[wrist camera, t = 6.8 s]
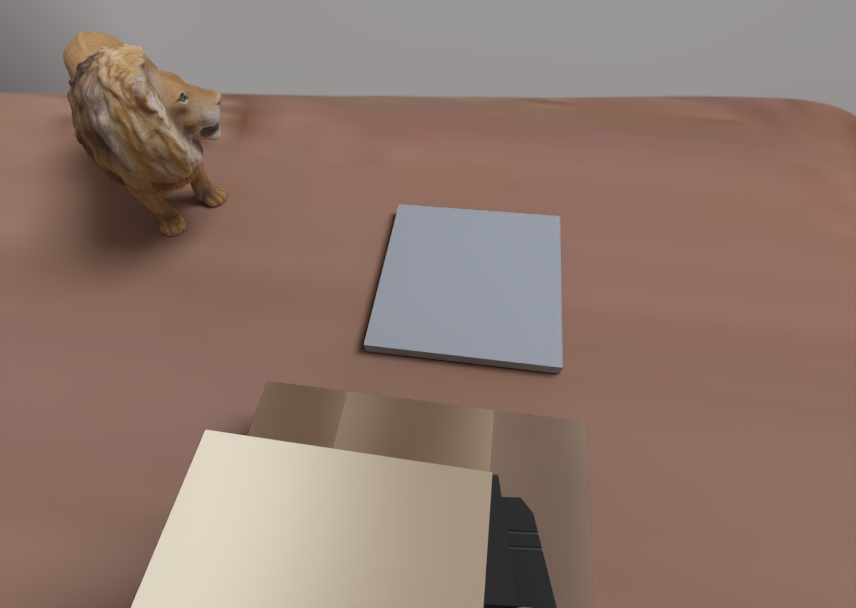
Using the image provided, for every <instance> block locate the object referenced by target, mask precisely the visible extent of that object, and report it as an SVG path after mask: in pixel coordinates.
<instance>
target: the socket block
mask: <svg viewBox="0 0 856 608" xmlns="http://www.w3.org/2000/svg"><path fill="white" fill-rule="evenodd" d="M247 436H252V437H258V438H265V439H272V440H278V441H285V442H292V443H299V444H305V445H312V446H319V447H326V448H332V449H339V450H346V451H352V452H359V453H366V454H373V455H379V456H386V457H393V458H399V459H406V460H413V461H420V462H426V463H433V464H440V465H446V466H453V467H460V468H467V469H473V470H480V471H487V472H493V473H492V474H498V476H499V482H500V489H501V495H502V497H521V498H522V500H523V501H524V502H525V503H526V505H527V506H528V507H529V508H530V510H531V511H532V512H533V514H534V518H535V522H536V526H537V530H538V535H539V538H540V542H541V546H542V551H543V554H544V558H545V562H546V566H547V570H548V574H549V578H550V582H551V586H552V590H553V595H554V599H555V603H556V607H557V608H594V591H593V569H592V547H591V525H590V502H589V480H588V458H587V435H586V422H581V421H573V420H566V419H558V418H550V417H542V416H535V415H527V414H519V413H511V412H503V411H496V410H488V409H480V408H472V407H465V406H457V405H449V404H441V403H434V402H426V401H418V400H410V399H402V398H395V397H387V396H379V395H371V394H364V393H356V392H348V391H340V390H332V389H325V388H317V387H309V386H301V385H294V384H286V383H278V382H270V381H267V382H266V385H265V388H264V391H263V393H262V396H261V399H260V402H259V404H258V407H257V410H256V413H255V415H254V418H253V421H252V424H251V426H250V429H249V432H248V435H247Z"/></svg>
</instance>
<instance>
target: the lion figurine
mask: <svg viewBox="0 0 856 608" xmlns="http://www.w3.org/2000/svg"><path fill="white" fill-rule="evenodd" d="M63 58H64V62H65V66H66V68H67V70H68V73H69V75H70V77H71V79H70V80H69V84H70V89H69V91H68V95H67V98H68V100H69V102H70V105H71V110H72V123H73V126H74V128H75V135H76V138H77V140H78V142H79V143H81V144H82V145H83V147H84V149H85V151H86V152H87V154H88V155H89V156H90V157H91V159H92V160H93V161H94V162H95V163H96V164H97V165H98V166H99V167H100V168H102V169H103V170H104V172H105V173H106V174H107V175H108V176H109V177H110V178H111V179H112V180H113V181H114V182H116V183H117V184H118V185H120V186H121V187H124V188H127V189H128V191H129V192H130V193H131V194H132V195H133V196H134V197H135V198H137V199H138V200H139V201H140V202H142V203H143V204H144V205H145V206H146V207H147V208H148V209H149V210H151V211H152V212H153V213H155V214H156V215H157V216H158V218H159V219H160V221H161V225H160V230H161V232H162V233H163V234H164V235H167V236H177V235H179V234H180V233H182V232H183V231H185V229H186V223H185V221H184V219H183V216H182V214H181V213H180V212H179V211H178V210H176V209H175V208H174V207H173V206H171V205H170V204H169V203H168V202H167V201H166V200H165V199H164V198H163V197H162V196H161V195H167V194H169V193H170V192H172V191H173V190H177V189H180V188H183V187H184V186H185V185H187V184H188V183H191V186H192V189H193V191H194V193H195V195H196V197H197V198H199V199H200V200H202V201H204V202H205V203H206V204H207V205H209V206H212V207H217V206H220V205H222V204H223V203H224V202H225V200H226V198H227V195H228V193H227V191H226V190H225V189H222V188H217V187H215V186H214V185H213V184H212V183H211V182H210V180H209V179H208V177H207V175H206V173H205V171H204V167H203V164H202V157H203V149H202V146H201V143H200V140H199V139H209V140H217V139H219V138H220V136H221V133H220V127H219V125H218V122H219V119H220V102H221V95H220V93H218V92H216V91H213V90H208V89H202V88H200V87H197V86H193V85H190V84H187V83H185V82H184V81H183V80H182V79H180V77H179V76H178V75H176V74H174V73H171V72H167V71H162V70H159V69H158V68H157V67H156V66H155V65H154V64H153V63H152V61H151V60H150V59H149V57H148V56H147V55H146V54H145V52H144V50H143V49H142V47H140V46H137V45H134V46H132V45H129V44H122V43H121V42H120V41H119V40H118V39H116V38H115V37H113V36H111V35H108V34H104V33H91V32H80V33H79V34H78V35H77V37H76V38H75V39H74V40H73V41H71V42H70V43H69V45H68V46H67V47H66V48H65V50H64V57H63Z"/></svg>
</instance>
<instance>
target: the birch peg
mask: <svg viewBox="0 0 856 608" xmlns="http://www.w3.org/2000/svg"><path fill="white" fill-rule="evenodd" d="M492 473H493V472H487V471H480V470H473V469H467V468H460V467H453V466H446V465H440V464H433V463H426V462H420V461H413V460H406V459H399V458H393V457H386V456H379V455H373V454H366V453H359V452H352V451H346V450H339V449H332V448H326V447H319V446H312V445H305V444H299V443H292V442H285V441H278V440H272V439H265V438H258V437H252V436H245V435H238V434H231V433H225V432H218V431H211V430H205V432H204V435H203V437H202V439H201V442H200V444H199V447H198V449H197V451H196V454H195V456H194V459H193V461H192V463H191V466H190V468H189V470H188V473H187V475H186V478H185V480H184V482H183V485H182V487H181V489H180V492H179V494H178V497H177V499H176V501H175V504H174V506H173V509H172V511H171V513H170V516H169V518H168V520H167V523H166V525H165V528H164V530H163V532H162V535H161V537H160V539H159V542H158V544H157V547H156V549H155V551H154V554H153V556H152V558H151V561H150V563H149V566H148V568H147V570H146V573H145V575H144V578H143V580H142V582H141V585H140V587H139V589H138V592H137V594H136V597H135V599H134V601H133V604H132V606H131V608H483V606H484V591H485V577H486V562H487V547H488V532H489V517H490V503H491V488H492Z"/></svg>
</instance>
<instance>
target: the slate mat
mask: <svg viewBox="0 0 856 608" xmlns="http://www.w3.org/2000/svg"><path fill="white" fill-rule="evenodd" d="M364 347H365V350H366V351H369V352H377V353H386V354H395V355H403V356H412V357H420V358H429V359H437V360H446V361H455V362H463V363H472V364H480V365H489V366H497V367H506V368H515V369H523V370H532V371H540V372H549V373H557V374H559V373H560V372H561V370H562V368H563V362H562V305H561V247H560V216H549V215H536V214H523V213H509V212H496V211H482V210H469V209H455V208H442V207H428V206H415V205H402V204H399V206H398V210H397V214H396V218H395V222H394V226H393V230H392V234H391V238H390V242H389V246H388V250H387V254H386V258H385V262H384V266H383V270H382V274H381V277H380V281H379V285H378V289H377V293H376V297H375V301H374V305H373V309H372V313H371V317H370V321H369V325H368V329H367V333H366V337H365V341H364Z"/></svg>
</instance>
